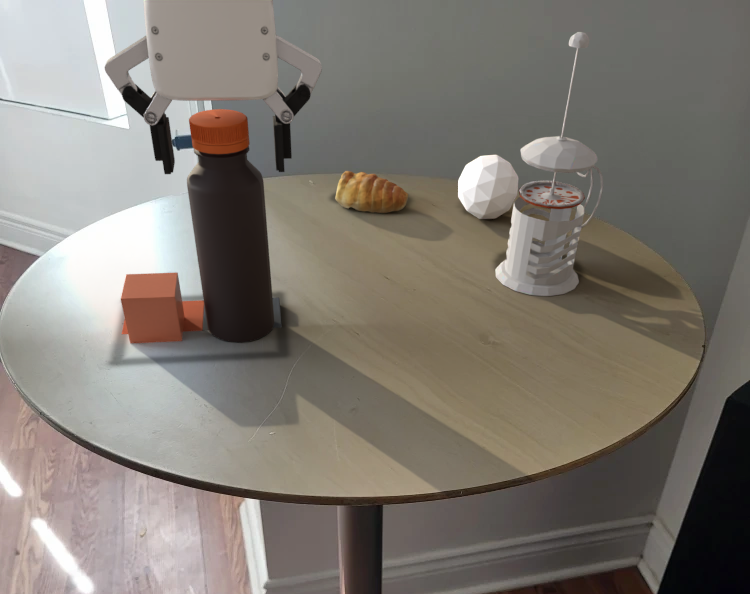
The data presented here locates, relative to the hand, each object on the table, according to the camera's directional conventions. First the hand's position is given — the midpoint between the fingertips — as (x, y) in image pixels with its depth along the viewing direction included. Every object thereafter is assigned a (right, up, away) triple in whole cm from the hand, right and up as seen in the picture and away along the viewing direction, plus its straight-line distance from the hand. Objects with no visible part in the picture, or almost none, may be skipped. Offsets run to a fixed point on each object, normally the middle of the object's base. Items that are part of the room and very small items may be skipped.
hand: (225, 167), depth 68 cm
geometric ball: (+28, +8, +35) cm, 45 cm away
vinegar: (0, -12, +11) cm, 16 cm away
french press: (+33, -3, +23) cm, 40 cm away
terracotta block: (-9, -12, +10) cm, 18 cm away
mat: (-4, -13, +11) cm, 17 cm away
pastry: (+12, +11, +37) cm, 40 cm away
